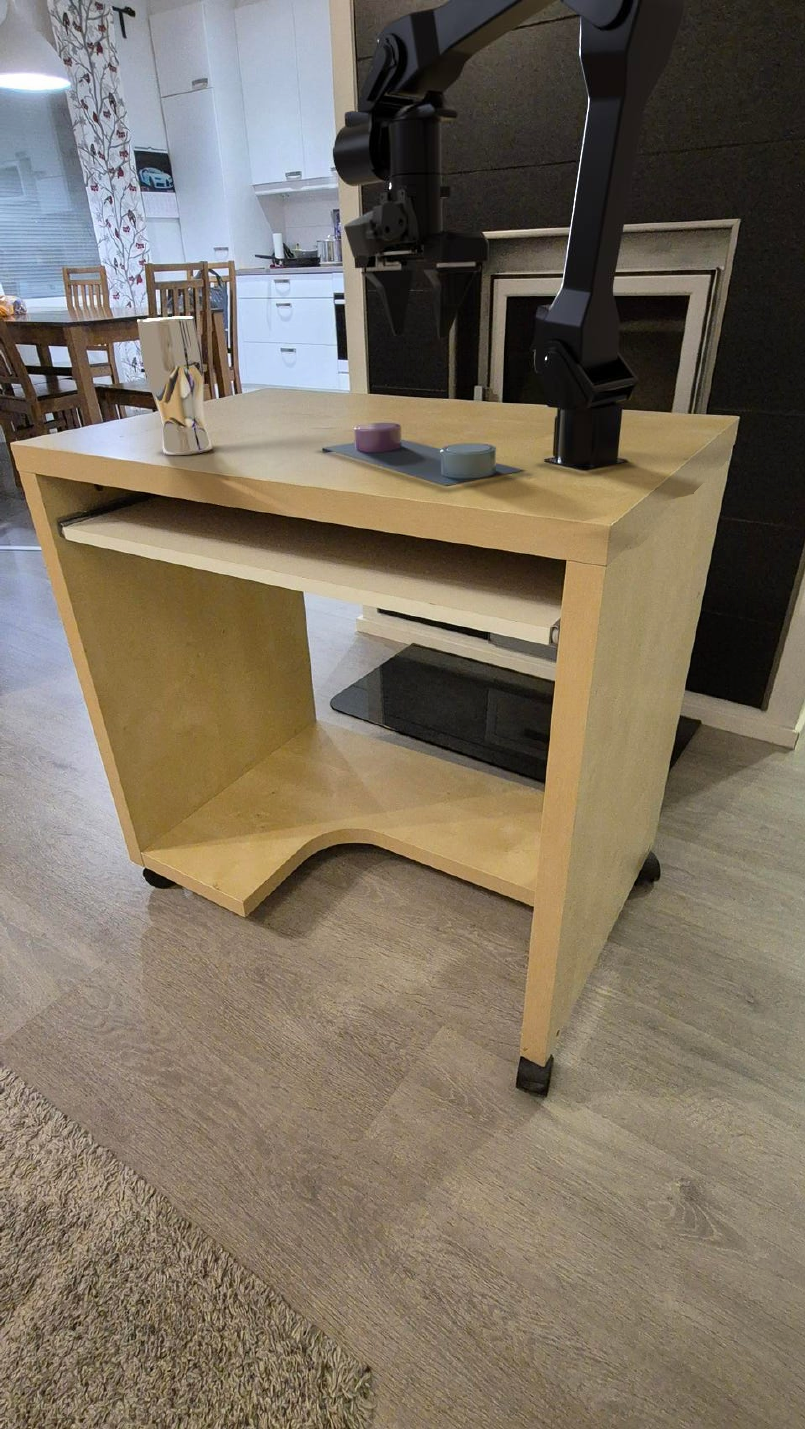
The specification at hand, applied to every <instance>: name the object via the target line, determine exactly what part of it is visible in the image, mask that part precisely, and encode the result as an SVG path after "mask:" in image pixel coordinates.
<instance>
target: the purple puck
mask: <svg viewBox="0 0 805 1429" xmlns="http://www.w3.org/2000/svg"><path fill="white" fill-rule="evenodd" d="M353 435H354V436H353V437H354V443H355V449H356V450H358V451H361V452H388V451H393V450H397V449H400V448H401V447H402V440H403V439H402V426H401V425H400V424H399V423H394V422H371V423H363V424H360V425H355V426H354V427H353Z"/></svg>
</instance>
